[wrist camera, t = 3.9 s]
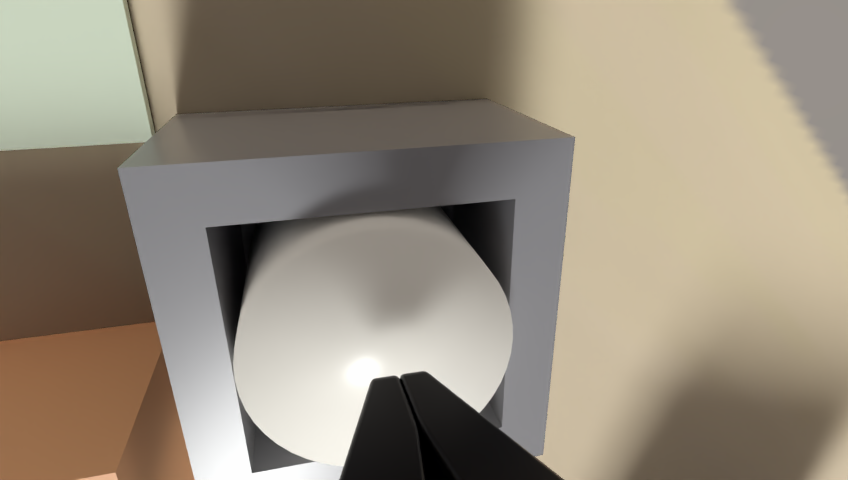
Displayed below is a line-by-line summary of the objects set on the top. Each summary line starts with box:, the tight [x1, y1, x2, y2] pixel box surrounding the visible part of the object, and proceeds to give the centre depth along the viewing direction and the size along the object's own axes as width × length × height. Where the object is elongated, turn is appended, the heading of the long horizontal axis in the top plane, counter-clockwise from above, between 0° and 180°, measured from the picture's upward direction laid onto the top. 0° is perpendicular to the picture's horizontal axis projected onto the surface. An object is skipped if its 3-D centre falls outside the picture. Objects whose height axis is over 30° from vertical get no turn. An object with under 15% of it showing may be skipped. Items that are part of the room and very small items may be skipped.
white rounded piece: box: [233, 206, 513, 466], centre depth 11 cm, size 5×5×4 cm
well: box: [117, 99, 575, 480], centre depth 12 cm, size 7×7×4 cm
